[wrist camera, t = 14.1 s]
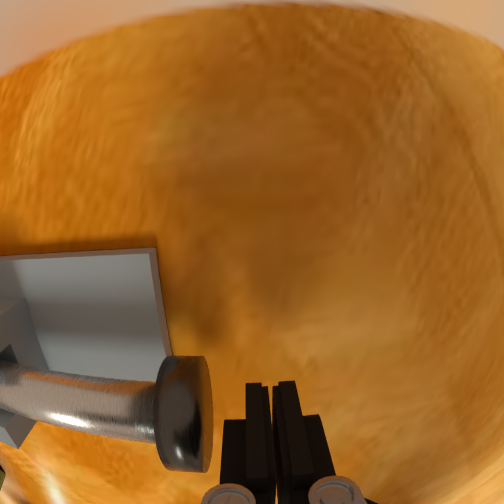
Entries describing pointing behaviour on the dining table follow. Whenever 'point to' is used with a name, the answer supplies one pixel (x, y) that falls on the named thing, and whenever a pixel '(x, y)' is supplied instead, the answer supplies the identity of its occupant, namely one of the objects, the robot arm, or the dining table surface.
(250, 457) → the robot arm
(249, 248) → the dining table surface
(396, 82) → the dining table surface
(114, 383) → the shaft
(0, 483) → the plant pot
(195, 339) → the dining table surface
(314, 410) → the dining table surface
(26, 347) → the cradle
